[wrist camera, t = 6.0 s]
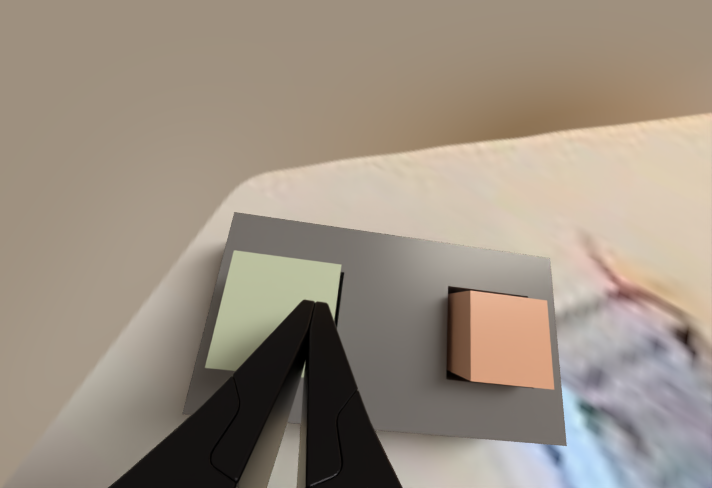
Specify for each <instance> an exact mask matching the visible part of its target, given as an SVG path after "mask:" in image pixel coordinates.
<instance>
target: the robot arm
mask: <svg viewBox="0 0 712 488" xmlns="http://www.w3.org/2000/svg"><path fill="white" fill-rule="evenodd" d="M304 365H305V369H304ZM303 369H304V381H303V396H302V412H301V427H300V443H299V458H298V474H297V488H402V486H401V484H400V481H399V479H398V477H397V475H396V473H395V471H394V469H393V467H392V465H391V463H390V461H389V459H388V457H387V455H386V453H385V451H384V449H383V447H382V445H381V443H380V441H379V438H378V436H377V434H376V432H375V430H374V428H373V425H372V423H371V421H370V418H369V416H368V413H367V411H366V408H365V405H364V403H363V400H362V397H361V394H360V392H359V390H358V386H357V384H356V381H355V378H354V375H353V372H352V370H351V367H350V364H349V361H348V358H347V355H346V353H345V350H344V347H343V344H342V341H341V339H340V336H339V333H338V330H337V327H336V325H335V322H334V319H333V316H332V313H331V310H330V308H329V305H328V303H326V302H320V301H317V302H315V301H313V300H306V299H304V300H302V301H301V302H300V303H299V304H298V305H297V306H296V307H295V308H294V310H293V311H292V312H291V313H290V314H289V315H288V316H287V317H286V318H285V319H284V320H283V321H282V322H281V323H280V324H279V325H278V326H277V328H276V329H275V330H274V331H273V332H272V333H271V334H270V335H269V336H268V337H267V338H266V339H265V340H264V341H263V342H262V343H261V344H260V346H259V347H258V348H257V349H256V350H255V351H254V352H253V353H252V354H251V355H250V356H249V357H248V358H247V359H246V360H245V361H244V362H243V364H242V365H241V366H240V367H239V368H238V369H237V370H236V371H235V372H234V373H233V376H230V377H229V378H228V379H227V380H226V381H225V382H224V383H223V385H222V386H221V387H220V388H219V389H218V390H217V391H216V392H215V393H214V394H213V395H212V396H211V397H210V398H209V399H208V400H207V401H206V402H205V403H204V404H203V405H202V406H201V407H199V408H198V409H197V410H196V411H195V412H194V413H193V414H192V415H191V416H190V417H189V418H187V419H186V420H185V421H184V422H183V423H182V424H181V425H180V426H179V427H177V428H176V429H175V430H174V431H173V432H172V433H171V434H169V435H168V436H167V437H166V438H165V439H164V440H163V441H162V442H160V443H159V444H158V445H157V446H156V447H155V448H154V449H152V450H151V451H150V452H149V453H148V454H147V455H146V456H144V457H143V458H142V459H141V460H140V461H139V462H138V463H136V464H135V465H134V466H133V467H132V468H131V469H130V470H129V471H127V472H126V473H125V474H124V475H123V476H122V477H120V478H119V479H118V480H117V481H116V482H115V483H113V484H112V485H111V486H109V487H108V488H267V485H268V482H269V479H270V476H271V473H272V469H273V466H274V463H275V460H276V457H277V453H278V450H279V447H280V444H281V441H282V437H283V434H284V431H285V428H286V425H287V421H288V418H289V415H290V412H291V408H292V405H293V402H294V399H295V396H296V392H297V389H298V386H299V383H300V380H301V376H302V373H303Z"/></svg>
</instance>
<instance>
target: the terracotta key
mask: <svg viewBox="0 0 712 488" xmlns="http://www.w3.org/2000/svg"><path fill="white" fill-rule="evenodd" d="M446 370H448V371H450V372H452V373H455V374H457V375H459V376H461V377H463V378H465V379H467V380H469V381H474V382H484V383H494V384H503V385H513V386H523V387H533V388H543V389H553V390H554V379H553V367H552V355H551V342H550V330H549V318H548V305H547V300H539V299H532V298H524V297H516V296H509V295H501V294H493V293H486V292H478V291H471V290H470V291H464V292H457V293H451V294H448V314H447V367H446Z"/></svg>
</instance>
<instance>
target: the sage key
mask: <svg viewBox="0 0 712 488" xmlns="http://www.w3.org/2000/svg"><path fill="white" fill-rule="evenodd" d="M340 272H341V265H340V264H333V263H325V262H318V261H310V260H303V259H296V258H288V257H281V256H273V255H266V254H258V253H251V252H243V251H236V250H234V252H233V256H232V260H231V264H230V268H229V272H228V276H227V280H226V284H225V288H224V293H223V297H222V301H221V305H220V309H219V313H218V317H217V321H216V325H215V329H214V333H213V337H212V341H211V345H210V349H209V353H208V357H207V361H206V365H205V368H212V369H222V370H232V371H236V370H237V369H238V368H239V367H240V366H241V365H242V364H243V362H244V361H245V360H246V359H247V358H248V357H249V356H250V355H251V354H252V353H253V352H254V351H255V350H256V349H257V348H258V347H259V346H260V344H261V343H262V342H263V341H264V340H265V339H266V338H267V337H268V336H269V335H270V334H271V333H272V332H273V331H274V330H275V329H276V328H277V326H278V325H279V324H280V323H281V322H282V321H283V320H284V319H285V318H286V317H287V316H288V315H289V314H290V313H291V312H292V311H293V310H294V308H295V307H296V306H297V305H298V304H299V303H300V302H301V301H302V300H304V299H306V300H313V301H315V302H317V301H320V302H326V303H328V305H329V308H330V310H331V313H332V316H333V319H334V318H335V310H336V303H337V295H338V287H339V280H340ZM304 369H305V365H304ZM304 369H303V373H302V376H301V377H304Z"/></svg>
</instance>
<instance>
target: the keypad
mask: <svg viewBox="0 0 712 488" xmlns="http://www.w3.org/2000/svg"><path fill="white" fill-rule="evenodd" d="M234 250H236V251H243V252H251V253H258V254H266V255H273V256H281V257H288V258H296V259H303V260H310V261H318V262H325V263H333V264H340V265H341V272H340V280H339V287H338V295H337V303H336V310H335V318H334V322H335V325H336V327H337V330H338V333H339V336H340V339H341V341H342V344H343V347H344V350H345V353H346V355H347V358H348V361H349V364H350V367H351V370H352V372H353V375H354V378H355V381H356V384H357V386H358V390H359V392H360V394H361V397H362V400H363V403H364V405H365V408H366V411H367V413H368V416H369V418H370V421H371V423H372V425H373V428H374V430H381V431H393V432H405V433H417V434H429V435H441V436H453V437H465V438H477V439H489V440H502V441H514V442H526V443H538V444H550V445H562V446H567V445H566V434H565V422H564V411H563V400H562V388H561V377H560V365H559V354H558V343H557V331H556V320H555V309H554V297H553V286H552V275H551V263H550V258H546V257H539V256H532V255H526V254H519V253H512V252H505V251H498V250H491V249H484V248H477V247H471V246H464V245H457V244H450V243H443V242H436V241H429V240H422V239H416V238H409V237H402V236H395V235H388V234H381V233H374V232H367V231H361V230H354V229H347V228H340V227H333V226H326V225H319V224H312V223H306V222H299V221H292V220H285V219H278V218H271V217H264V216H257V215H251V214H244V213H237V212H234V216H233V220H232V223H231V227H230V231H229V235H228V239H227V243H226V247H225V251H224V255H223V258H222V262H221V266H220V270H219V274H218V278H217V282H216V286H215V290H214V293H213V297H212V301H211V305H210V309H209V313H208V317H207V321H206V324H205V328H204V332H203V336H202V340H201V344H200V348H199V352H198V356H197V359H196V363H195V367H194V371H193V375H192V379H191V383H190V387H189V391H188V394H187V398H186V402H185V406H184V410H183V414H189V415H192V414H193V413H194V412H195V411H196V410H197V409H198V408H199V407H201V406H202V405H203V404H204V403H205V402H206V401H207V400H208V399H209V398H210V397H211V396H212V395H213V394H214V393H215V392H216V391H217V390H218V389H219V388H220V387H221V386H222V385H223V383H224V382H225V381H226V380H227V379H228V378H229V377H230V376H233V373H234V372H235V371H232V370H222V369H212V368H205V365H206V361H207V357H208V353H209V349H210V345H211V341H212V337H213V333H214V329H215V325H216V321H217V317H218V313H219V309H220V305H221V301H222V297H223V293H224V288H225V284H226V280H227V276H228V272H229V268H230V264H231V260H232V256H233V252H234ZM470 290H471V291H478V292H486V293H493V294H501V295H509V296H516V297H524V298H532V299H539V300H547V305H548V318H549V330H550V342H551V355H552V367H553V379H554V390H553V389H543V388H533V387H523V386H513V385H503V384H494V383H484V382H474V381H469V380H467V379H465V378H463V377H461V376H459V375H457V374H455V373H452V372H450V371H448V370H446V367H447V314H448V294H451V293H457V292H464V291H470ZM303 381H304V377H301V380H300V383H299V386H298V389H297V392H296V396H295V399H294V402H293V405H292V408H291V412H290V415H289V418H288V421H287V423H297V424H301V412H302V396H303Z"/></svg>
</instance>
